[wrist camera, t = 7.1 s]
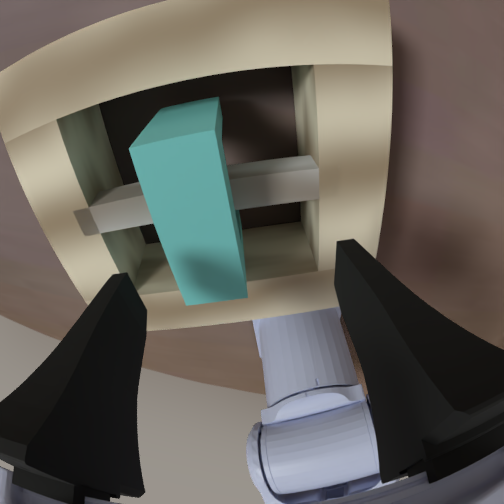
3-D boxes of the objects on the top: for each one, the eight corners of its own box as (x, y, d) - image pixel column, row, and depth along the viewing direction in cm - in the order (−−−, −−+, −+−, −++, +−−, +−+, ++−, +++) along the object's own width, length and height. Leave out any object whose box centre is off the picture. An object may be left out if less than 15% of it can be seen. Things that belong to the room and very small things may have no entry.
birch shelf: (346, 253, 23) (367, 301, 20) (121, 284, 24) (107, 333, 20) (346, -1, 12) (388, -9, 8) (36, 64, 12) (-15, 82, 8)
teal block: (241, 224, 19) (247, 297, 15) (194, 232, 19) (186, 305, 15) (218, 96, 14) (214, 129, 9) (161, 108, 14) (128, 148, 10)
